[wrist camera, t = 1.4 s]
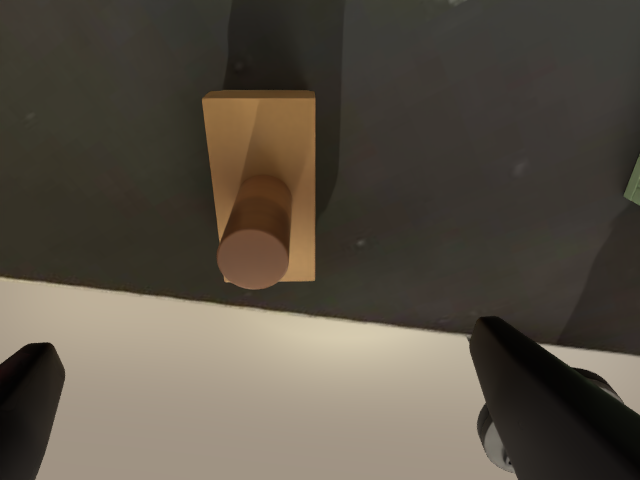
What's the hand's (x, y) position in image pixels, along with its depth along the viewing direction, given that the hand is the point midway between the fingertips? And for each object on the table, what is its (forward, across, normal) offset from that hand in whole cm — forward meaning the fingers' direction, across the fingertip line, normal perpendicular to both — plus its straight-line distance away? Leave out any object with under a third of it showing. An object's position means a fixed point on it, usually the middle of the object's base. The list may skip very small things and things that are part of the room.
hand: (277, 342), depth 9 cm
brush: (+13, 0, +2) cm, 13 cm away
